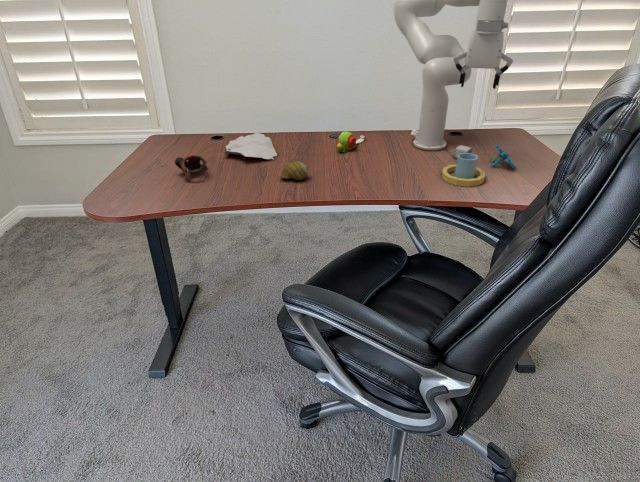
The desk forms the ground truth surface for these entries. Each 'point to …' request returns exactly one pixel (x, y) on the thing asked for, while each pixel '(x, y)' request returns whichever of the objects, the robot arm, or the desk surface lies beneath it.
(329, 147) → the desk surface
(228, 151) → the paper
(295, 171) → the seashell
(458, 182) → the ring
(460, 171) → the cup
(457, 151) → the usb wall charger
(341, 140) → the toy measuring tape
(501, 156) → the blue branched piece
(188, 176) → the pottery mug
